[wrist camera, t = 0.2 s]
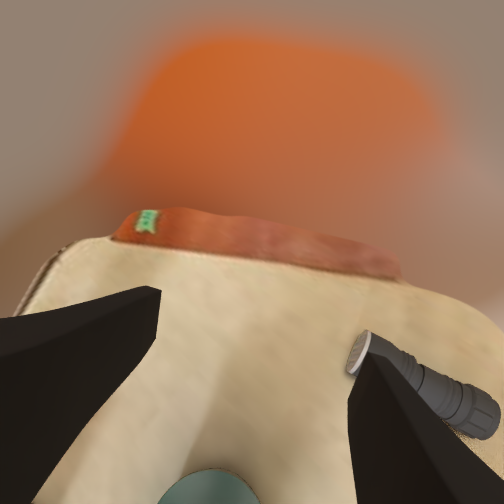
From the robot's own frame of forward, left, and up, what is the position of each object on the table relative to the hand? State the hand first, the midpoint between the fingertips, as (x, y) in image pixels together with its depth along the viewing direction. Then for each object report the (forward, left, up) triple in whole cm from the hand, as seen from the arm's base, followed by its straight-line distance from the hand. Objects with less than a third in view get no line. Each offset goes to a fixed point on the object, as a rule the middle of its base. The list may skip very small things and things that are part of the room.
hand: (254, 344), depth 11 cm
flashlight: (+7, -18, -31) cm, 36 cm away
